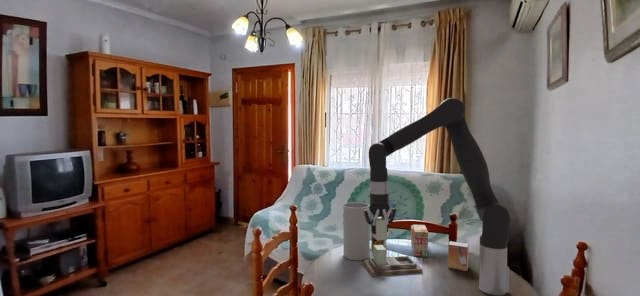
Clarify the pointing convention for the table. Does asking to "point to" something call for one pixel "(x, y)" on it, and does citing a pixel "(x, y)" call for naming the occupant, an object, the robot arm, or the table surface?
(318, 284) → the table surface
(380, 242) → the condiment
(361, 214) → the cylinder vase
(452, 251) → the small box
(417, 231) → the stack of blocks
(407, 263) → the tray
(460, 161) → the robot arm
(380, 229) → the loose block
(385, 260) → the block
